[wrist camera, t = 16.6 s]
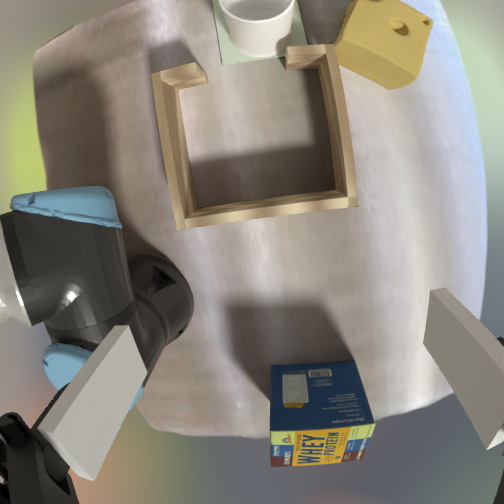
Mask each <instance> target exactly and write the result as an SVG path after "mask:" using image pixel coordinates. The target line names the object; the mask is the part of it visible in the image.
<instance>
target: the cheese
mask: <svg viewBox="0 0 504 504" xmlns="http://www.w3.org/2000/svg"><path fill="white" fill-rule="evenodd" d="M432 25H433V20H432V19H430V18H428V17H427V16H425V15H424V14H422V13H421V12H419V11H417V10H416V9H414V8H412V7H411V6H409V5H407V4H405V3H403V2H401V1H399V0H353V2H350V3H349V5H348V6H347V9H346V12H345V17H344V21H343V24H342V27H341V29H340V32H339V34H338V37H337V39H336V40H335V42H334V46H335V51H336V55H337V60H338V64H339V65H341V66H343V67H345V68H348V69H350V70H352V71H354V72H356V73H358V74H360V75H362V76H364V77H366V78H368V79H370V80H372V81H374V82H376V83H378V84H380V85H382V86H384V87H385V88H387V89H389V90H390V89H397V88H401V87H404V86H407V85H409V84H411V83H412V82H414V81H415V79H416V78H417V77H418V75H419V72H420V69H421V66H422V62H423V58H424V53H425V49H426V44H427V41H428V37H429V34H430V31H431V28H432Z"/></svg>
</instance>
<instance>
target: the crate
mask: <svg viewBox="0 0 504 504" xmlns="http://www.w3.org/2000/svg"><path fill="white" fill-rule="evenodd" d="M285 67H286V71H288V70H299V69H312V68H318V73H319V78H320V83H321V88H322V94H323V100H324V105H325V111H326V118H327V124H328V131H329V138H330V145H331V152H332V160H333V168H334V176H335V186H336V190H331V191H322V192H313V193H304V194H296V195H288V196H280V197H273V198H265V199H258V200H251V201H244V202H237V203H230V204H224V205H217V206H211V207H205V208H199V209H198V207H197V201H196V196H195V191H194V185H193V180H192V174H191V168H190V162H189V157H188V151H187V145H186V139H185V132H184V126H183V120H182V113H181V106H180V100H179V93H178V90H180V89H184V88H188V87H193V86H197V85H201V84H206V83H208V78H207V75H206V74H205V72H204V71H203V70H202V69H201V68H200V67H199V66H198V65H197V63H196V62H193V63H189V64H185V65H181V66H177V67H173V68H170V69H166V70H163V71H159V72H156V73H153V74H151V76H152V85H153V92H154V100H155V107H156V114H157V121H158V128H159V134H160V140H161V147H162V153H163V158H164V164H165V170H166V175H167V181H168V186H169V191H170V197H171V202H172V207H173V212H174V216H175V221H176V226H177V230H182V229H188V228H195V227H201V226H208V225H215V224H222V223H229V222H236V221H243V220H250V219H257V218H265V217H272V216H280V215H288V214H296V213H304V212H312V211H320V210H329V209H338V208H347V207H356V206H358V195H357V184H356V174H355V165H354V156H353V148H352V140H351V133H350V126H349V120H348V113H347V107H346V101H345V95H344V90H343V85H342V79H341V74H340V69H339V65H338V60H337V55H336V51H335V46H334V44H321V45H303V46H291V47H287V51H286V58H285Z"/></svg>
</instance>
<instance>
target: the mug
mask: <svg viewBox="0 0 504 504" xmlns="http://www.w3.org/2000/svg"><path fill="white" fill-rule="evenodd" d="M218 2H219V5H220V8H221V10H222V13H223V15H224V18H225V21H226V23H227V26H228V29H229V31H230V39H231V42H232V43H233V45H234V46H235V48H236V49H237V50H239V51H240V52H242V53H243V54H245V55H248V56H251V57H257V58H264V57H270V56H273V55H276V54H278V53H279V52H281V51H282V50H283V49H285V48H286V46H287V45H288V44H289V42H290V39H291V34H292V31H291V22H292V16H293V9H294V3H295V0H218Z"/></svg>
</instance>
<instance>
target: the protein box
mask: <svg viewBox="0 0 504 504" xmlns="http://www.w3.org/2000/svg"><path fill="white" fill-rule="evenodd" d="M374 427H375V422H374V419H373V415H372V412H371V409H370V406H369V403H368V399H367V396H366V393H365V390H364V387H363V384H362V381H361V377H360V375H359V371H358V368H357V365H356V362H355V361H348V362H335V363H319V364H297V365H272V366H271V394H270V465H271V466H272V467H277V466H278V467H281V466H304V465H318V464H329V463H338V462H344V461H354V460H361V459H362V458H363V456H364V453H365V451H366V448H367V446H368V443H369V440H370V437H371V435H372V432H373V430H374Z"/></svg>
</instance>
